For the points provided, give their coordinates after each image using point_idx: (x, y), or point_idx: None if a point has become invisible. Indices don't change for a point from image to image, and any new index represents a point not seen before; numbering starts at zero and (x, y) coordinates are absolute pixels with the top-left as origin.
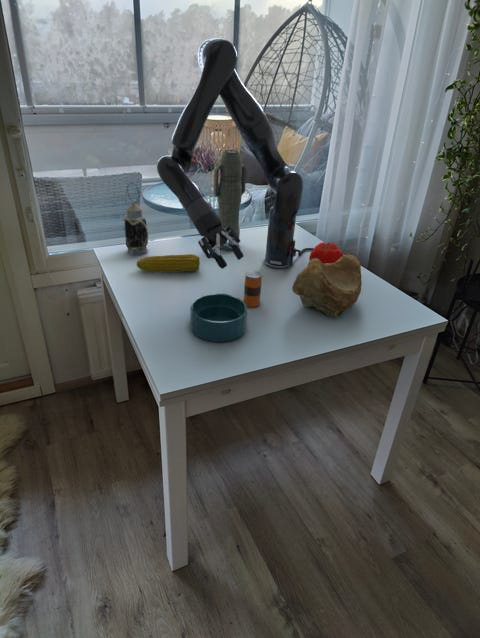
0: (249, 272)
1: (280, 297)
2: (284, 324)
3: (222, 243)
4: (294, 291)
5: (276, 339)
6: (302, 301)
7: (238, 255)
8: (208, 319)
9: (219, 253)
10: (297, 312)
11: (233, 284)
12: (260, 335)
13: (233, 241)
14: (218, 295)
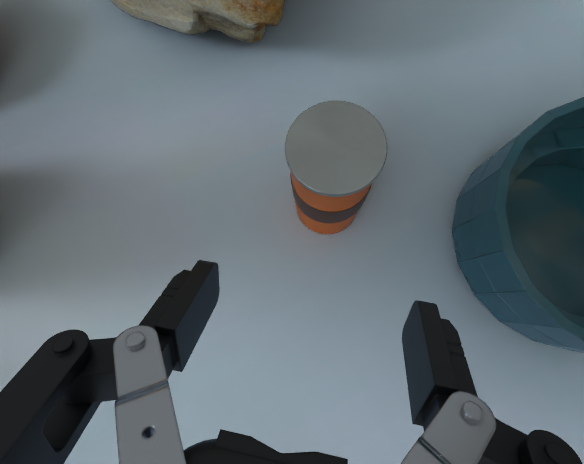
0: (331, 174)
1: (230, 130)
2: (398, 59)
3: (303, 462)
4: (281, 14)
5: (496, 50)
6: (265, 27)
7: (208, 298)
8: (547, 293)
9: (451, 399)
10: (303, 50)
11: (212, 334)
12: (506, 98)
13: (139, 378)
14: (528, 278)
